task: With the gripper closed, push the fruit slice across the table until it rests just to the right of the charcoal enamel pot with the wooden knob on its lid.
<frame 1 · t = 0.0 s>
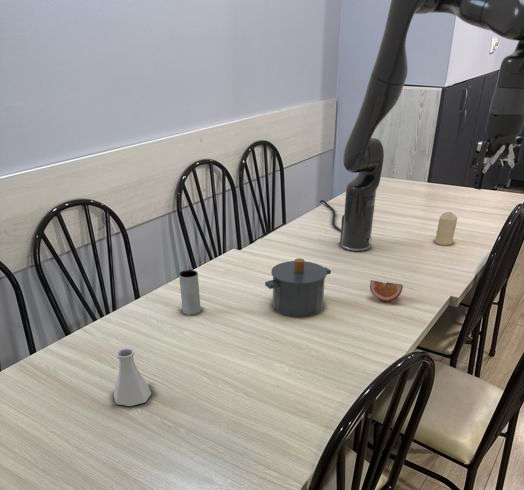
hand: (490, 186, 118), 29 cm above the table, tool pointing down, fingers open, 8 cm apart
pot lid: (298, 273, 126), point 9 cm above the table, touching pot
gray cylinder: (191, 311, 128), on the table
fruit slice: (384, 299, 134), on the table
flask: (132, 396, 98), on the table
pot: (297, 305, 130), on the table
candle: (443, 243, 170), on the table
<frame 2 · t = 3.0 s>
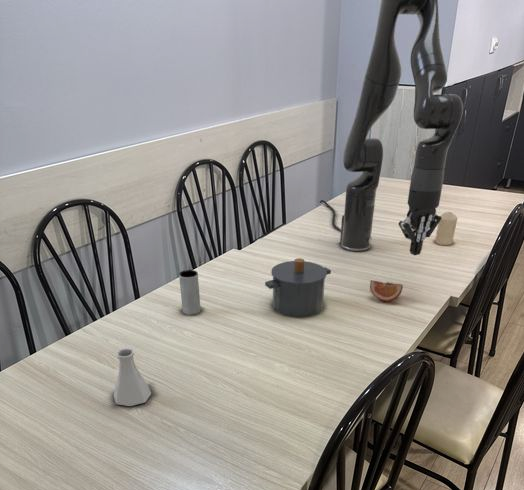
hand: (414, 254, 131), 11 cm above the table, tool pointing down, fingers closed
nothing on the table moved.
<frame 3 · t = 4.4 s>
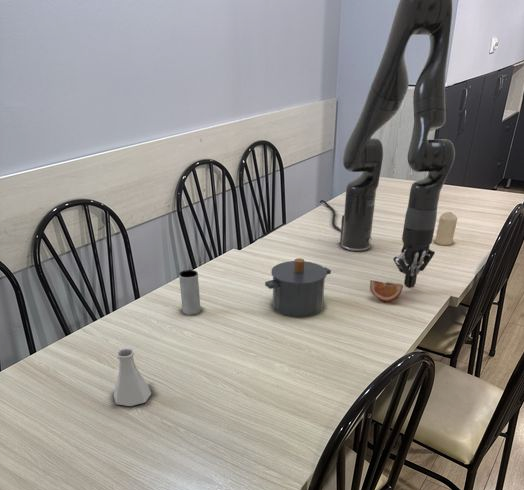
hand: (409, 286, 136), 2 cm above the table, tool pointing down, fingers closed
nothing on the table moved.
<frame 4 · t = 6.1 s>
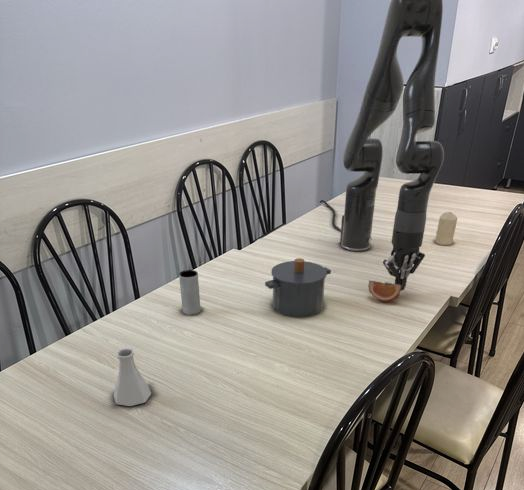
hand: (399, 289, 135), 2 cm above the table, tool pointing down, fingers closed
fruit slice: (383, 299, 134), on the table, touching gripper
everything else where it was.
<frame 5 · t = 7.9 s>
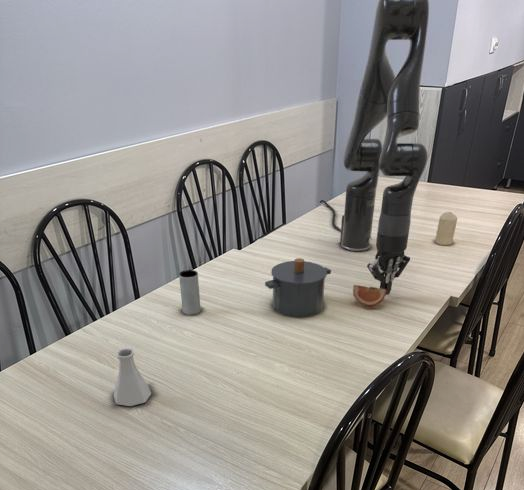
hand: (384, 293, 133), 2 cm above the table, tool pointing down, fingers closed
fruit slice: (367, 304, 131), on the table, touching gripper
everything else where it was.
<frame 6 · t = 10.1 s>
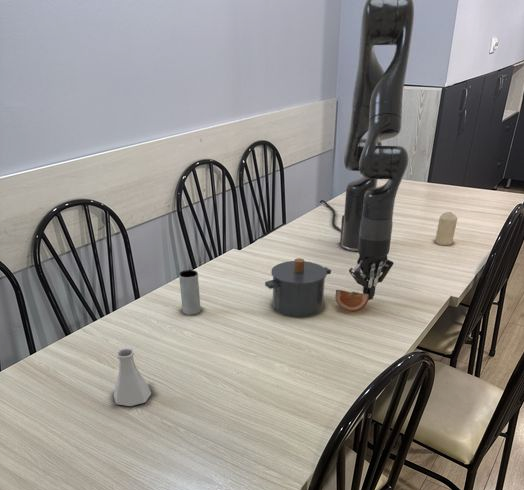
hand: (368, 298, 130), 2 cm above the table, tool pointing down, fingers closed
fruit slice: (350, 309, 129), on the table, touching gripper
everything else where it was.
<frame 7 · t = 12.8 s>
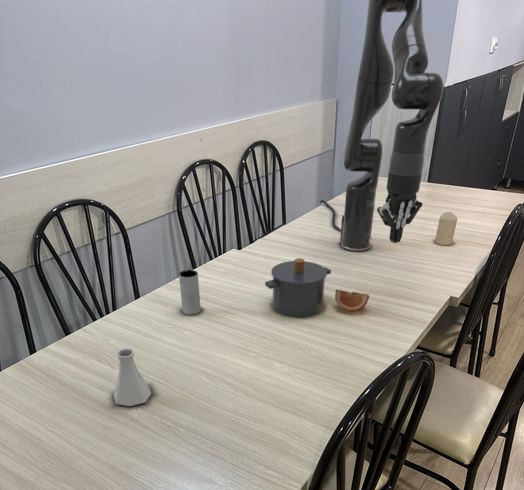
hand: (394, 241, 126), 15 cm above the table, tool pointing down, fingers closed
fruit slice: (350, 309, 129), on the table
everything else where it was.
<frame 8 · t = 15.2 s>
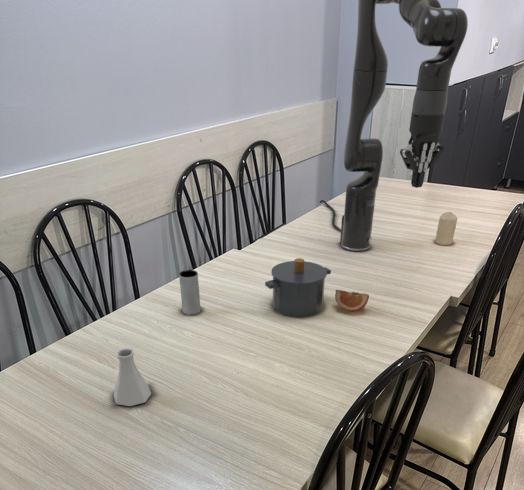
hand: (416, 186, 127), 27 cm above the table, tool pointing down, fingers closed
nothing on the table moved.
at the end: fruit slice inside the target area on the table beside the pot (0.9 cm from its centre), on the table; fruit slice moved 11.3 cm from its start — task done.
